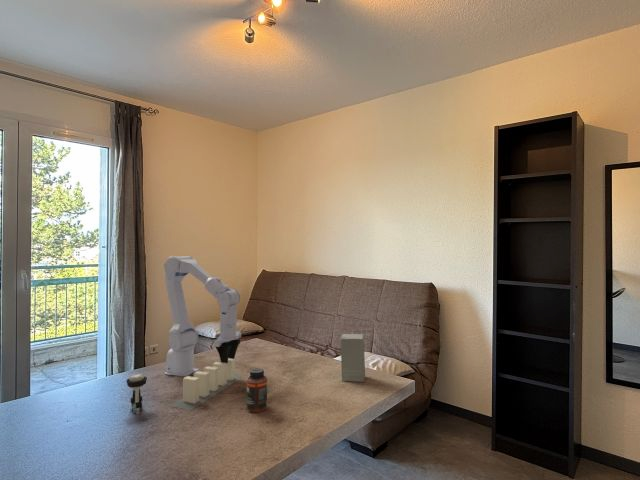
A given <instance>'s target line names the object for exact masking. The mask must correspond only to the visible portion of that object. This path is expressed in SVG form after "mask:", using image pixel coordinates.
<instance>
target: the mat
mask: <svg viewBox="0 0 640 480" xmlns="http://www.w3.org/2000/svg"><path fill="white" fill-rule="evenodd" d="M244 377H245V375H242V374H237V373H235V379H234V380H232V381H231V380H227V384H225V385H224V386H222V385H218V389H217V390H216V391H210V390H209V395H208V396H206V397H201V396H199V401H198V402H197V403H189V402H183V397H182V398H180V399H178V400H177V401H174V402H173V403H172V404H170V405H169V407H171V408H176V409H182V410H187V411H192V410H194V409H196V408H197V407H198V406H200V405H201V404H203V403H206V401H208V400H209V399H211V398H213V397H214V396H215V395H217V394H219V393H220V392H222V391H223V390H225V389H227V388H228V387H230V386H231V385H233V384H235V383H236V382H237V381H239V380H241V379H243V378H244Z"/></svg>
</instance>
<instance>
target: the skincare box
mask: <svg viewBox="0 0 640 480" xmlns="http://www.w3.org/2000/svg"><path fill="white" fill-rule="evenodd" d="M339 340H340V358H341V359H340V360H341V362H340V364H341V382H353V383H357V382H358V383H359V382H360V383H361V382H362V383H364V382H365V378H366V360H365V358H366V357H365V335H364V334H363V333H361V334H360V333H355V334H354V333H343V334H341V337H340V339H339Z"/></svg>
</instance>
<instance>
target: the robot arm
mask: <svg viewBox="0 0 640 480" xmlns="http://www.w3.org/2000/svg"><path fill="white" fill-rule="evenodd" d="M163 268H164V273H165V275H164V283H165V286H166V292H167V298H168V302H169V308H170V312H171V313H170V314H171V318H172V323H173V325H172V327H171V328H170V330H169V331H168V334H169V335H168V336H169V337H168V344H169V347H170V349H169V350H168V351H167V353H166V358H165V359H166V360H165V361H166V363H165V368H166V369H165V370H166V371H165V372H164V374H165V375H168V376H175V377H176V376H179V377H187V376H190V375H191V374H194V373H195V372H197V371H200V369H199V368H195V367H194V366H195V364H194V363H195V362H194V361H195V360H194V359H195V348H196V344H197V343H198V341H199V334H198V332H197V330H196V328H195V325H194V324H193V323H192V322H190V321H189V316H188V311H187V306H186V301H185V295H184V290H183V289H184V288H183V286H182V281H183V280H184V278H185V277H186V276H188V275H189V274H190V275H191V276H193V277H194V278H195V279H197V280H198V281H200V282H201V283H202V284H204V289H205V290H206V291H207V292H208V293H209V294H210V295H212V297H214V298H215V299H216V303H217V304H218V308H219V311H220V314H219V315H220V317H219V336H218V337H217V338H216V339H214V340H213V347H215V349H216V351H217V353H218V355H219V359H220V362H221V363H228V358H230V359H235V357H236V354H237V350H238V348H239V346H240V343H241V339H239V338H242V332H241V331H237V321H238V319H237V315H238V313H237V311H238V304H239V302H240V301H241V295H240V292H239V291H238V290H237V289H236V288H230V286H229V285H226V284H225V283H224V282H223V281H221V280H222V279H221V278H220V277H217V276H211V275H210V274H209V273H208V272H207V271H206V270H205V269H204V268H202V266H200V265H199V264H198V262H197V260H196V259H195V258H194V257H192V256H190V255H186V256H185V255H184V256H182V255H181V256H174V255H171V256H169V257H168V258H166V260H165V262H164V263H163Z"/></svg>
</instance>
